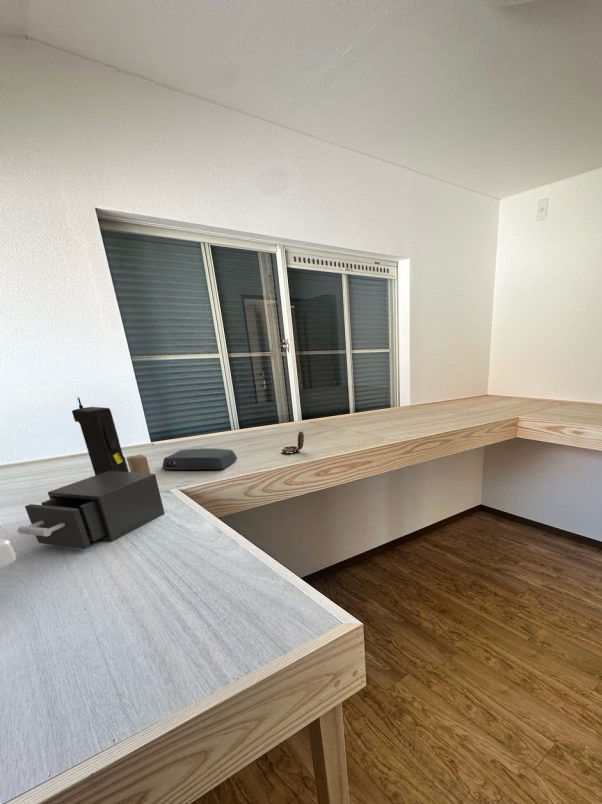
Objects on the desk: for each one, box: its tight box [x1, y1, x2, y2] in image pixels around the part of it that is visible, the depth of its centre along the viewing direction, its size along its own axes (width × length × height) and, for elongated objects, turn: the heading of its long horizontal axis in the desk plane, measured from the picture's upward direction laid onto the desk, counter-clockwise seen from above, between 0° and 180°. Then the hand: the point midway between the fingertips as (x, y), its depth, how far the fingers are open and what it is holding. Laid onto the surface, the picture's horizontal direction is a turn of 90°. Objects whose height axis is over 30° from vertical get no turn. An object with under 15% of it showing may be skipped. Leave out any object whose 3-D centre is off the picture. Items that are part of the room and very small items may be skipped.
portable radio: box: [71, 397, 130, 476], centre depth 100 cm, size 8×6×25 cm
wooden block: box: [126, 454, 151, 474], centre depth 114 cm, size 4×4×8 cm
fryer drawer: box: [17, 497, 107, 550], centre depth 82 cm, size 18×11×8 cm, turn 166°
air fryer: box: [47, 471, 166, 542], centre depth 89 cm, size 15×13×10 cm
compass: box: [281, 430, 305, 453], centre depth 144 cm, size 8×8×7 cm
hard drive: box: [161, 447, 238, 471], centre depth 132 cm, size 13×19×4 cm
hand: (0, 530), depth 69 cm, fingers closed
